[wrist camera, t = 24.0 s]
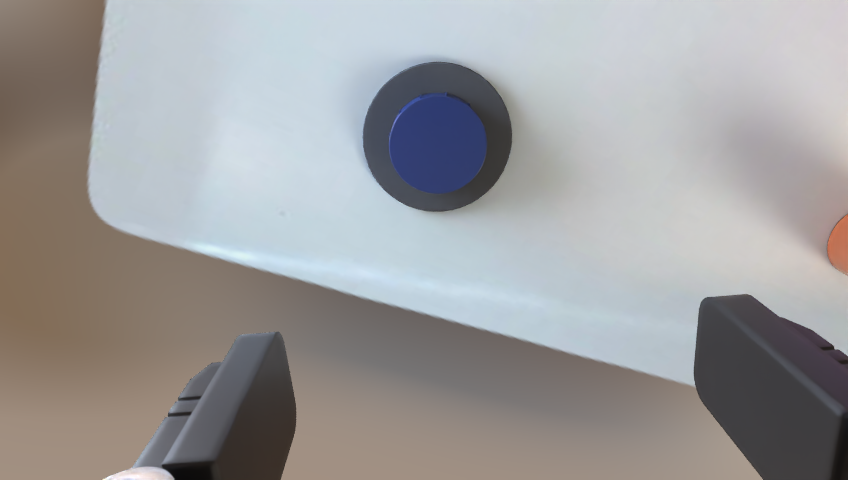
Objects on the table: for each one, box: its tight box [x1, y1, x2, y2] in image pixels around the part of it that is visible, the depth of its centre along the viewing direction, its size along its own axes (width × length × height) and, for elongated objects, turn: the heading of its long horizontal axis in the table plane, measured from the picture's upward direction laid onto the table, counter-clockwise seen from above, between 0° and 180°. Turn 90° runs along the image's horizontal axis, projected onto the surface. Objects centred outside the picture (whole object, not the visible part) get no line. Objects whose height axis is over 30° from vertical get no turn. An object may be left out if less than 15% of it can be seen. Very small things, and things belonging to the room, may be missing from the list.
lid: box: [388, 92, 487, 194], centre depth 33 cm, size 6×6×2 cm
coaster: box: [363, 62, 512, 211], centre depth 34 cm, size 9×9×1 cm
